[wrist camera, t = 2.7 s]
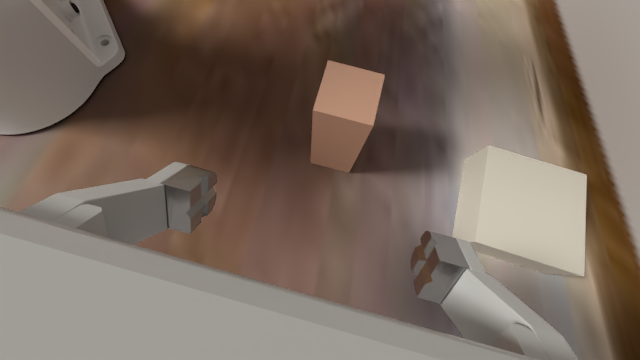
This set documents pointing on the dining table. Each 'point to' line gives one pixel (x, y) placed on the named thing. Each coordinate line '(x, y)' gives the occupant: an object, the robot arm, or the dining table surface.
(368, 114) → the tan rectangular block
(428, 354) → the robot arm
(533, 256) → the cream block
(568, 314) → the dining table surface
